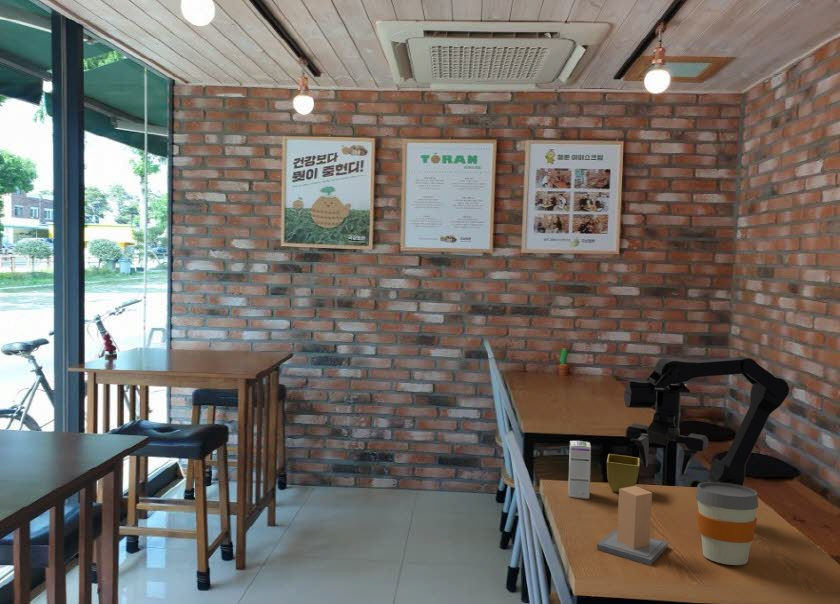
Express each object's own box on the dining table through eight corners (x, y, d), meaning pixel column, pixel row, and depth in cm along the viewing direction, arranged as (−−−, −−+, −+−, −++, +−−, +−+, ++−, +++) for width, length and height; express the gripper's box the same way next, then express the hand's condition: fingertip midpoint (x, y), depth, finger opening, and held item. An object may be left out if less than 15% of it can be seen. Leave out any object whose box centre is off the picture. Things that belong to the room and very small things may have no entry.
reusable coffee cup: (746, 573, 137) (748, 500, 137) (685, 556, 145) (687, 488, 146) (764, 558, 146) (766, 490, 146) (706, 543, 154) (707, 478, 155)
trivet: (667, 547, 151) (668, 541, 151) (650, 565, 141) (650, 559, 141) (616, 533, 158) (616, 527, 158) (596, 549, 148) (597, 543, 148)
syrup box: (589, 499, 180) (592, 447, 180) (567, 497, 182) (570, 445, 181) (588, 492, 186) (591, 441, 185) (567, 490, 187) (569, 439, 186)
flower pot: (638, 487, 191) (639, 457, 191) (637, 497, 183) (639, 465, 183) (606, 483, 194) (608, 453, 194) (605, 493, 186) (606, 461, 185)
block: (632, 536, 153) (635, 485, 152) (649, 544, 148) (652, 492, 148) (616, 540, 150) (619, 488, 150) (633, 549, 146) (636, 495, 145)
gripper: (619, 408, 164) (616, 469, 165) (698, 420, 153) (694, 487, 153) (634, 401, 173) (631, 460, 174) (710, 413, 161) (706, 475, 162)
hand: (664, 470), depth 165 cm, fingers open, 9 cm apart
